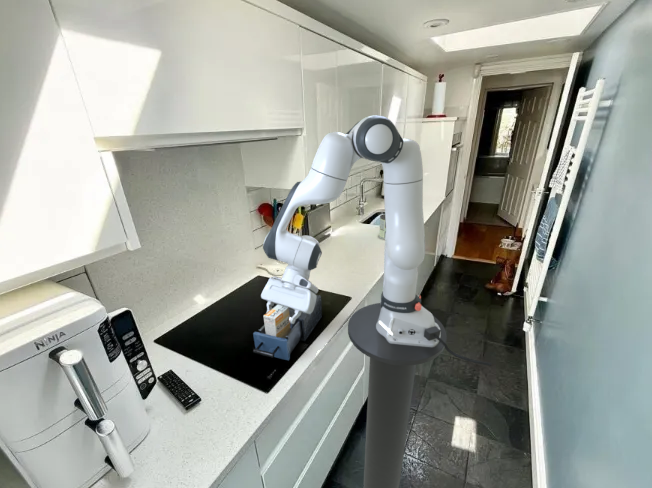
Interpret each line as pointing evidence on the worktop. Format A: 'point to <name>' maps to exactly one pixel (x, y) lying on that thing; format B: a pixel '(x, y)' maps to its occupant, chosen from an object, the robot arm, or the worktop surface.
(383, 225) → the coffee can
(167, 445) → the worktop surface
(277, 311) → the supplement box
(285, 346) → the drawer
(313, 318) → the drawer cabinet housing
